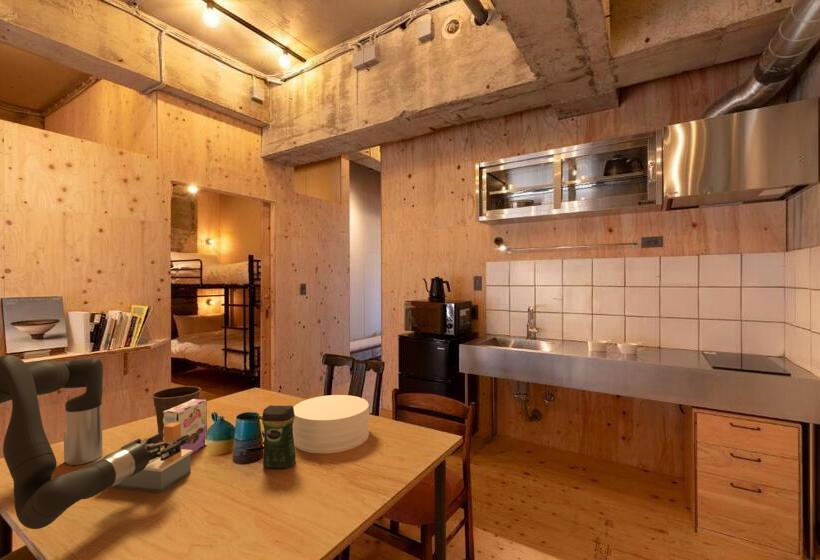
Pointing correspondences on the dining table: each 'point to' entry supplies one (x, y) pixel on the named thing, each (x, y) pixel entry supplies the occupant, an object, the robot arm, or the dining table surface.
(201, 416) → the candy box
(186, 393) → the plant pot
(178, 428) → the lid
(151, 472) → the tub
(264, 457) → the coffee jar
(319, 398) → the plate stack
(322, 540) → the dining table surface
